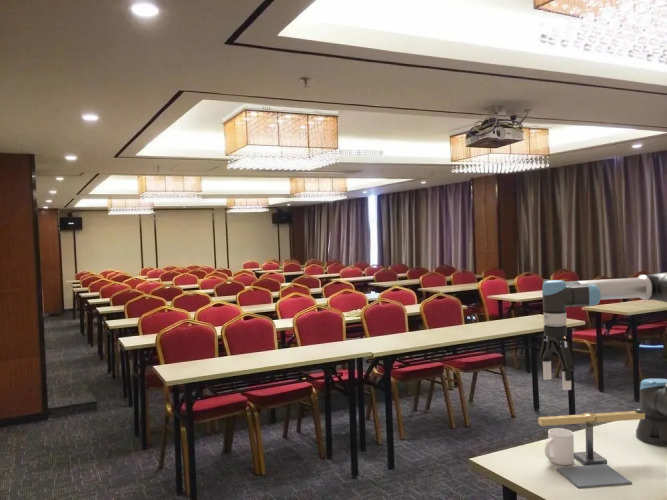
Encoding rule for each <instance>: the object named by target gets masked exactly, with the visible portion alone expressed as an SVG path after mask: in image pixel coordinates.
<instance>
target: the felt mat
mask: <svg viewBox="0 0 667 500" xmlns="http://www.w3.org/2000/svg"><path fill="white" fill-rule="evenodd" d="M555 470H556V471H557V472H559V473H560V474H561V475H562V476H564V477H563V478H565V479H567V480H568V481H569V482H570V483H571V484H572V485H573V486H575V487H576V488H577V489H586V488H587V489H588V488H599V487H611V486H613V487H614V486H625V485H632V484H633V482H632V481H631V480H630V479H628V478H626V477H625V476H624V475H623V474H621V473H620V472H618V471H617V470H615V469H614V468H612V467H611V466H609V465H608V463H607V464H601V465H587V466H585V465H576V466H575V465H574V466H562V467H561V466H560V467H556V469H555Z"/></svg>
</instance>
